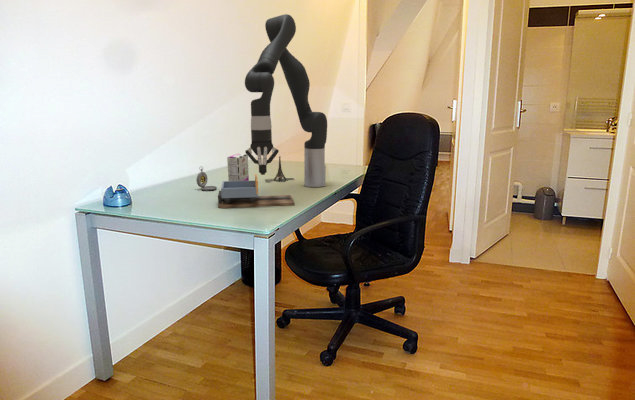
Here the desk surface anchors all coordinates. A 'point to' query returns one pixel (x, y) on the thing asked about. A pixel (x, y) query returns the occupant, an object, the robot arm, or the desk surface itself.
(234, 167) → the candy bar box
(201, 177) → the pocket watch
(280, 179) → the eiffel tower figurine
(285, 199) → the track
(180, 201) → the desk surface
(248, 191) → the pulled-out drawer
